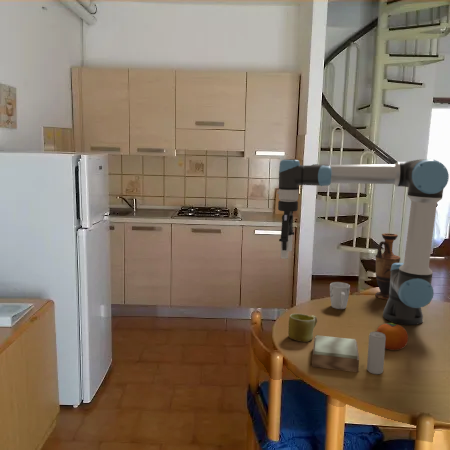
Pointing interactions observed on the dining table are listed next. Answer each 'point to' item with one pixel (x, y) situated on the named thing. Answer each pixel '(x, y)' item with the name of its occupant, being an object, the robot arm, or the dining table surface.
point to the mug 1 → (301, 327)
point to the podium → (335, 353)
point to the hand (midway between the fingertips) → (286, 254)
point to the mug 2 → (339, 294)
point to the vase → (385, 265)
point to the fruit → (394, 336)
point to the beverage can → (376, 352)
